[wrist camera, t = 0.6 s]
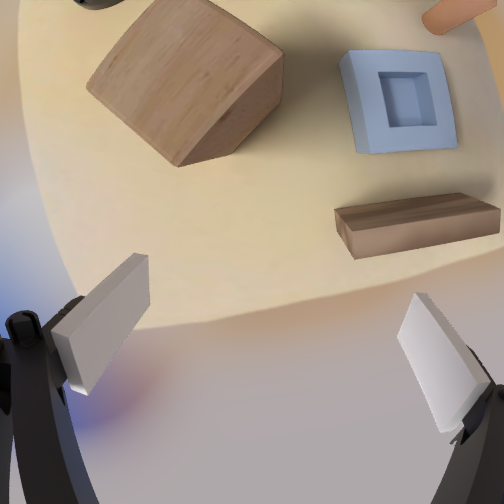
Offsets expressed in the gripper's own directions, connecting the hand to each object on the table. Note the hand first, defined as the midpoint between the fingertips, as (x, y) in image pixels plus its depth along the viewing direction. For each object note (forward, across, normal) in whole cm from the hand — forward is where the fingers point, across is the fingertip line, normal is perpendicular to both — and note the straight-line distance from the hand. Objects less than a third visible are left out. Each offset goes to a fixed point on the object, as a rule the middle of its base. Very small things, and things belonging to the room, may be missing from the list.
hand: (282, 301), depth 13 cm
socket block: (+26, +13, +15) cm, 32 cm away
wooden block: (+26, -8, +11) cm, 29 cm away
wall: (+26, +17, +1) cm, 31 cm away
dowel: (+26, +19, +31) cm, 44 cm away
